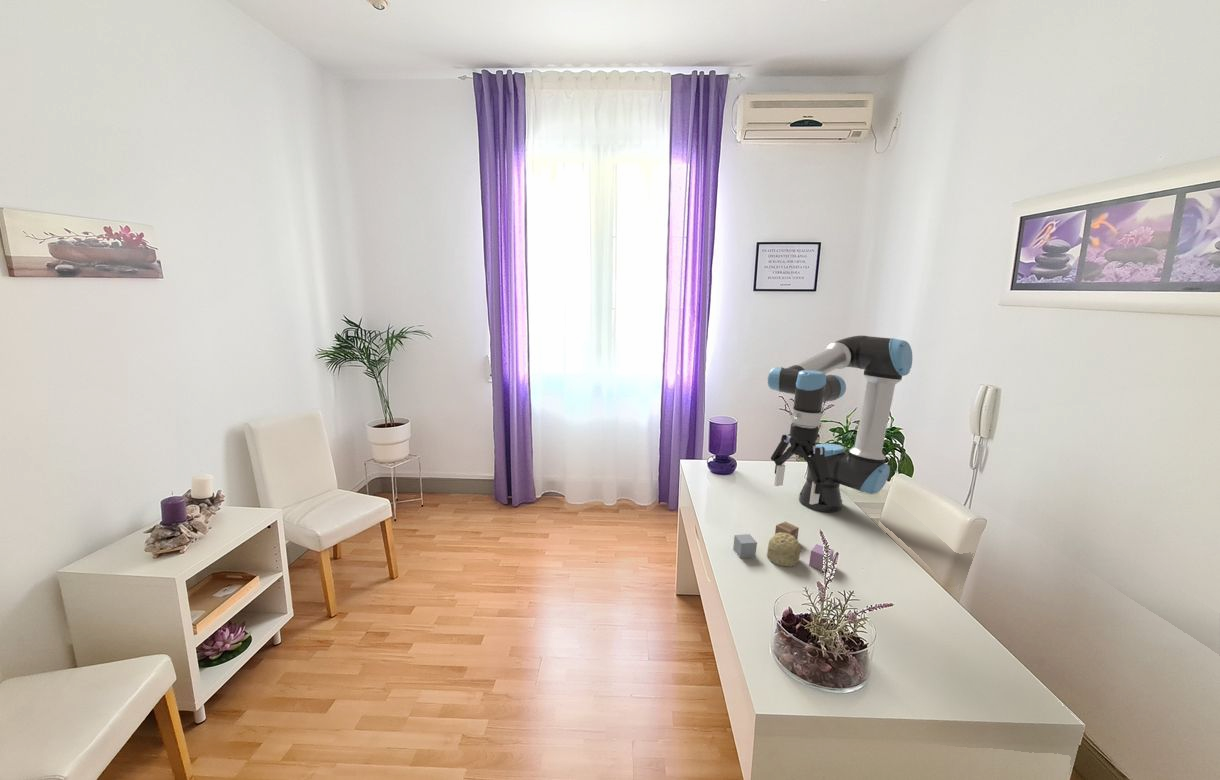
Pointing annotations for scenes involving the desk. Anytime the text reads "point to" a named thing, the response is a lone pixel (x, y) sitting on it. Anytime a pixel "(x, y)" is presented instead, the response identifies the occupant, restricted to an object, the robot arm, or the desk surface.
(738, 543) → the slate cube
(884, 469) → the robot arm
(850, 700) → the desk surface
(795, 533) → the walnut cube
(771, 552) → the decorative object
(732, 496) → the desk surface
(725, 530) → the desk surface
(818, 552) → the plum cube
